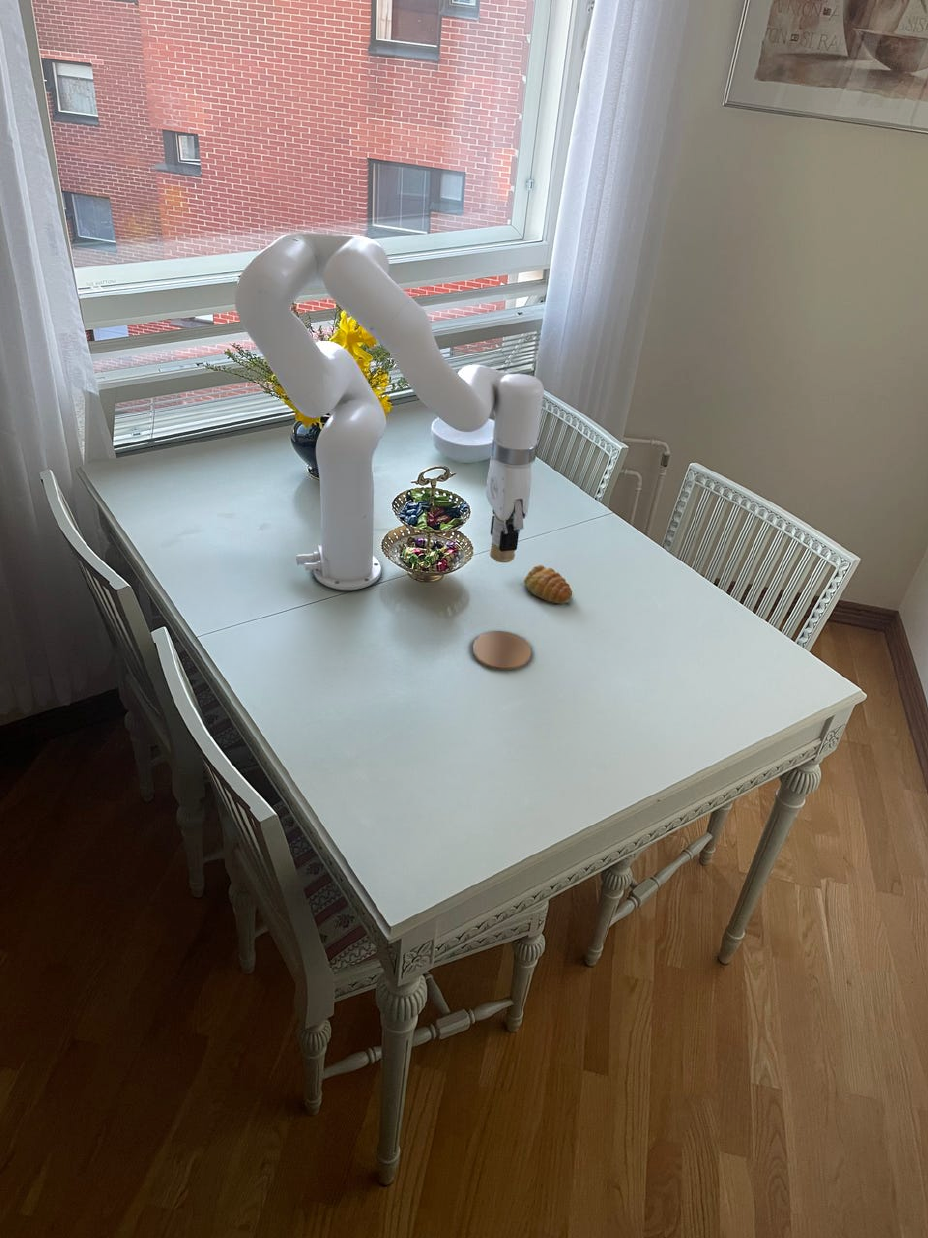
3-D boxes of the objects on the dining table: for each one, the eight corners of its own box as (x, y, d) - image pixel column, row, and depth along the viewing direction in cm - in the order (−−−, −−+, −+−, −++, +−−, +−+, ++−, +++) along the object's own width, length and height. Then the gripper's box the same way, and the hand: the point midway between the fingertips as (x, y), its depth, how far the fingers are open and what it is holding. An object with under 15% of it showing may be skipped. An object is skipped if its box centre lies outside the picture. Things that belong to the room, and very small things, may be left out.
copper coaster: (482, 673, 155) (482, 670, 154) (466, 636, 162) (466, 634, 162) (538, 666, 157) (538, 663, 157) (520, 630, 165) (520, 628, 165)
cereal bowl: (502, 475, 211) (505, 446, 206) (429, 470, 210) (430, 442, 205) (499, 441, 224) (501, 414, 220) (430, 437, 223) (431, 409, 219)
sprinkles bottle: (507, 548, 170) (514, 483, 162) (519, 560, 167) (527, 495, 159) (485, 552, 169) (491, 487, 160) (496, 565, 165) (503, 499, 157)
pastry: (579, 597, 175) (582, 580, 172) (556, 611, 171) (558, 594, 168) (542, 575, 180) (544, 558, 177) (518, 587, 176) (521, 571, 173)
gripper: (478, 428, 160) (470, 519, 171) (507, 475, 148) (497, 570, 159) (519, 426, 162) (509, 516, 173) (551, 472, 149) (538, 566, 161)
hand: (503, 541), depth 166 cm, fingers closed on sprinkles bottle, 4 cm apart
